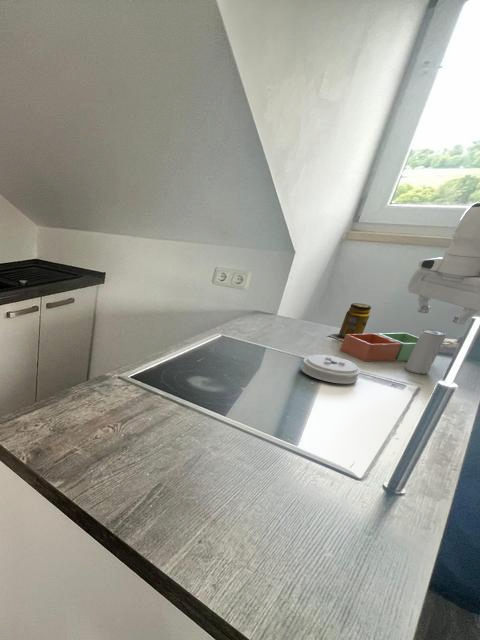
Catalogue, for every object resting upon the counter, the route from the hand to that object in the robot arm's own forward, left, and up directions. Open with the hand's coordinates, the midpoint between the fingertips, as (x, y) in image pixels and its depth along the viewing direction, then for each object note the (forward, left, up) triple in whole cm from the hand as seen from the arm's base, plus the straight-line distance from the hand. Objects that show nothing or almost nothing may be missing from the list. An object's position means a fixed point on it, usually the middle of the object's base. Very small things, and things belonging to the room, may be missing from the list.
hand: (439, 317), depth 105 cm
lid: (+27, +2, -16) cm, 32 cm away
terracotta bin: (+4, -12, -16) cm, 20 cm away
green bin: (-6, -12, -16) cm, 21 cm away
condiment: (-2, -27, -16) cm, 32 cm away
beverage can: (-1, 0, -16) cm, 16 cm away
